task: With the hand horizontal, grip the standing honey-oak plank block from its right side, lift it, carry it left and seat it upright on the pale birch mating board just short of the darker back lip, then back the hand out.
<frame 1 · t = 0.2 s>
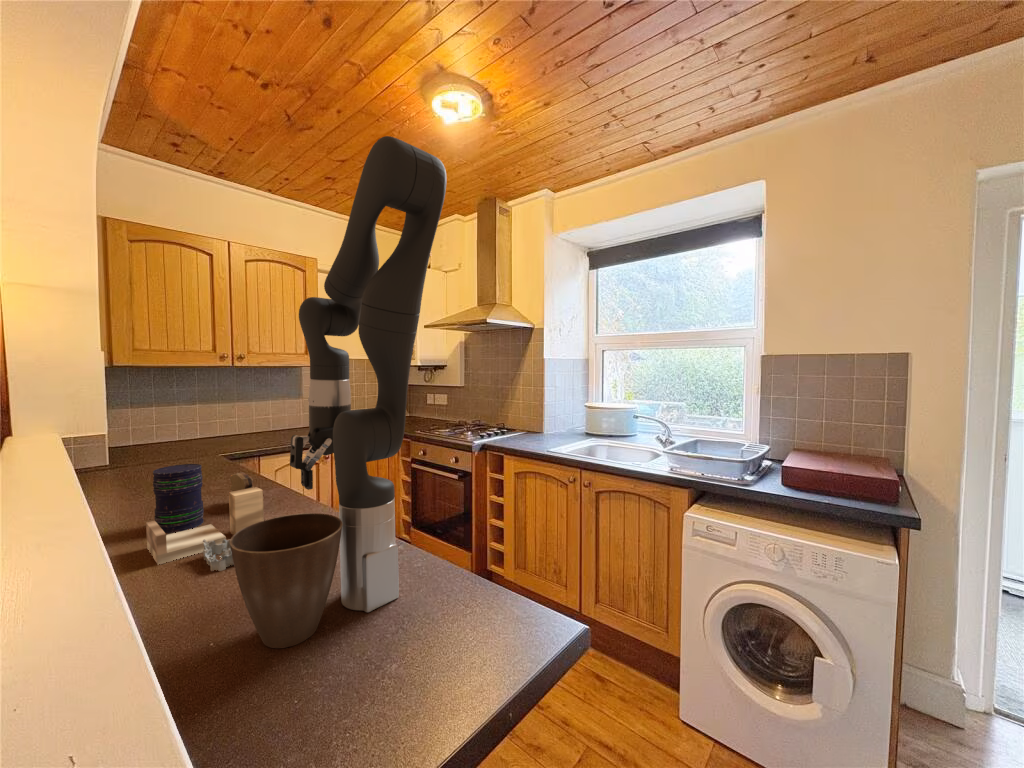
hand: (330, 483, 82), 18 cm above the counter, tool pointing down, fingers open, 8 cm apart
storage jar: (180, 526, 106), on the counter
birch mating board: (187, 547, 94), on the counter
oak plank block: (247, 531, 103), on the counter
egg carton: (227, 561, 88), on the counter
plant pot: (292, 633, 64), on the counter
wooden carving: (245, 507, 121), on the counter
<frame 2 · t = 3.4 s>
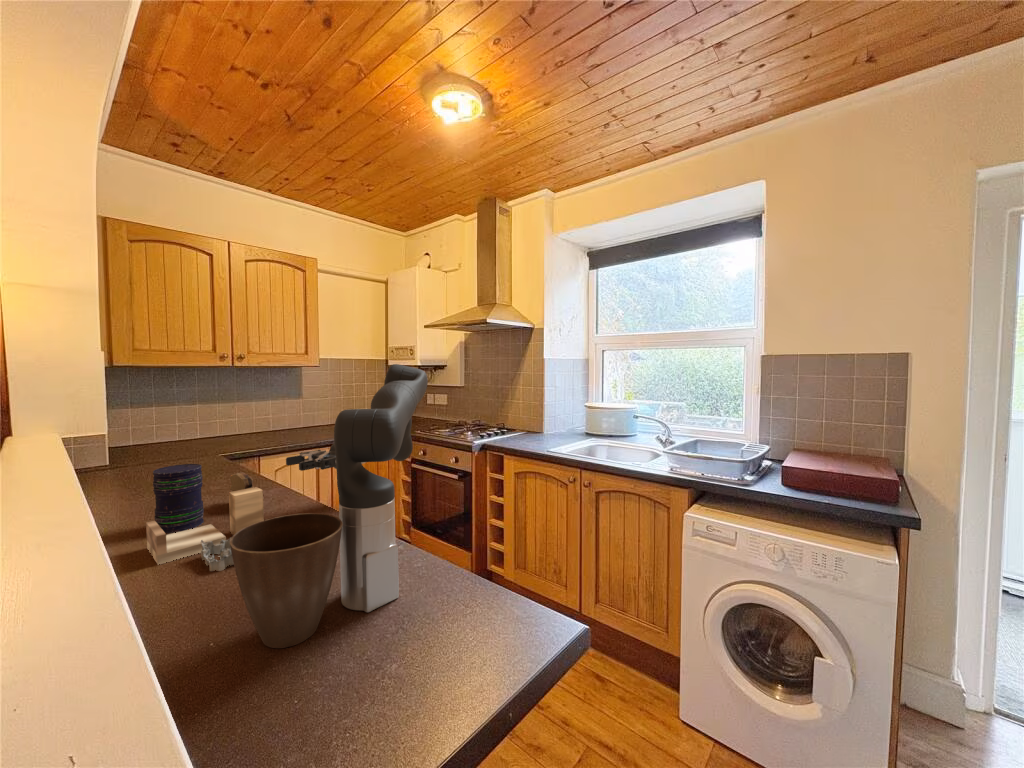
hand: (292, 464, 111), 15 cm above the counter, tool horizontal, fingers open, 8 cm apart
nothing on the counter moved.
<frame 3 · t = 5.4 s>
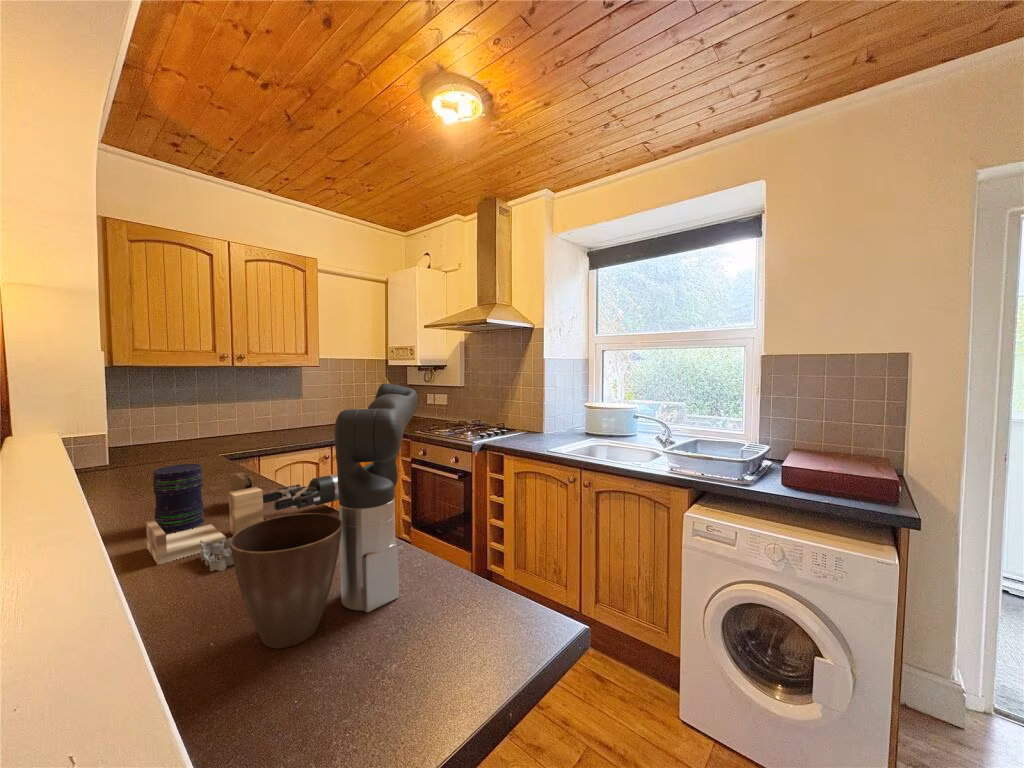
hand: (268, 502, 106), 6 cm above the counter, tool horizontal, fingers open, 8 cm apart
nothing on the counter moved.
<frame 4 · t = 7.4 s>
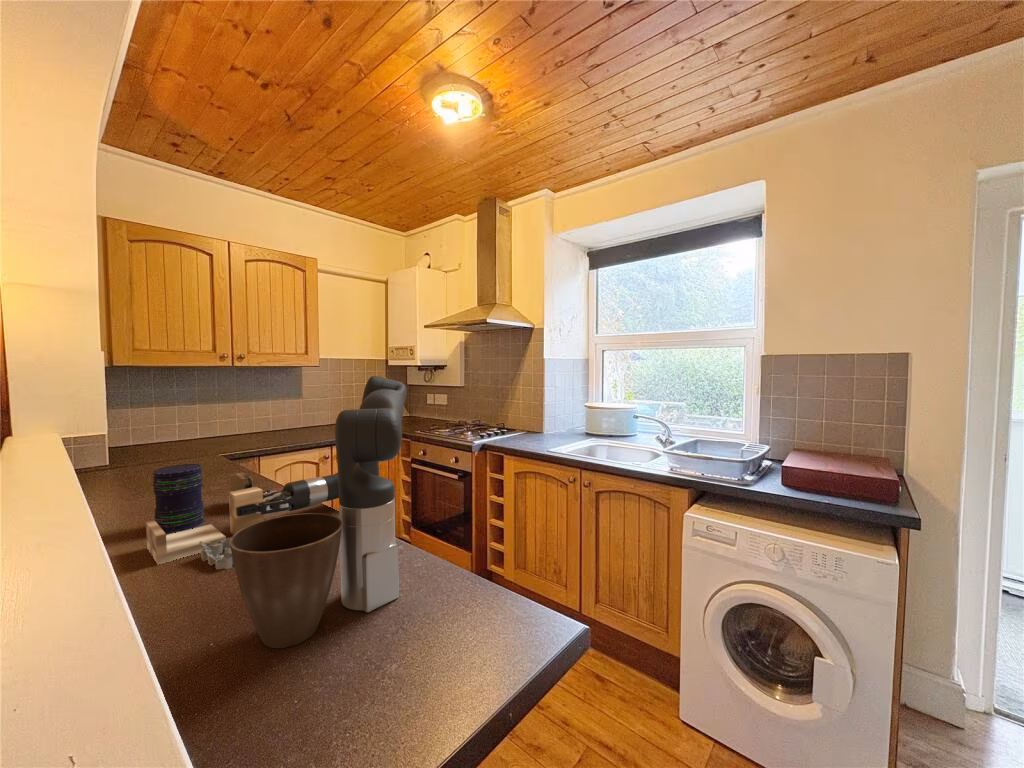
hand: (233, 509, 101), 6 cm above the counter, tool horizontal, fingers closed on oak plank block, 4 cm apart
oak plank block: (247, 530, 103), on the counter, touching gripper
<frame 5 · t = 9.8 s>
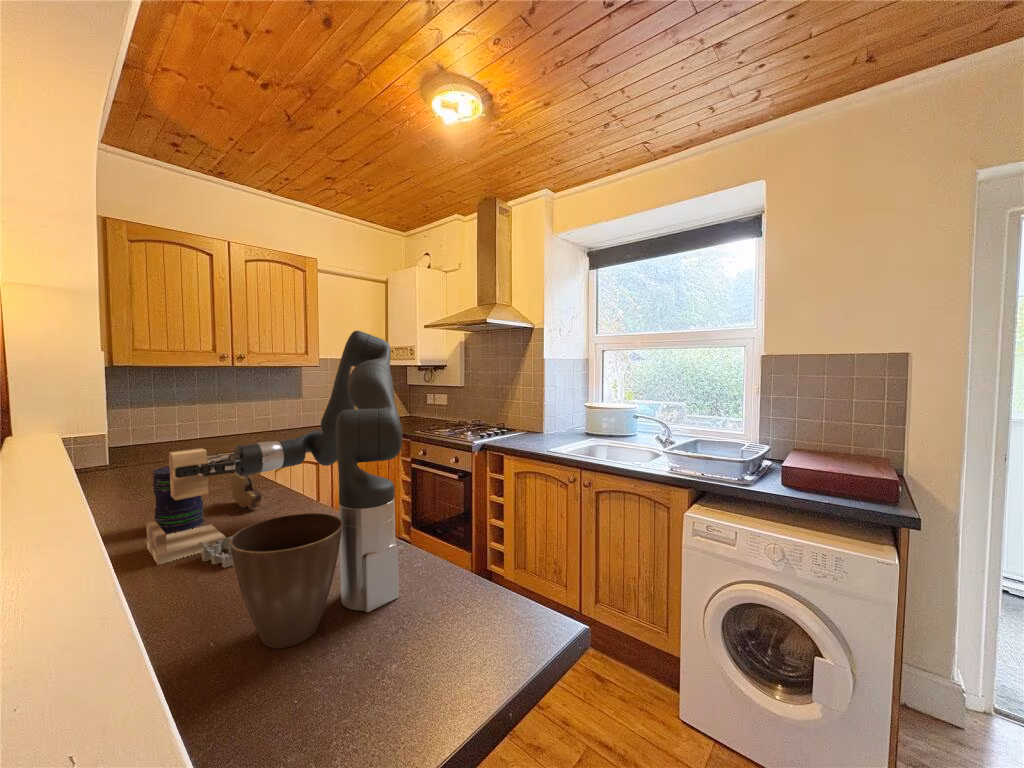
hand: (173, 471, 92), 18 cm above the counter, tool horizontal, fingers closed on oak plank block, 4 cm apart
oak plank block: (190, 495, 94), point 12 cm above the counter, touching gripper
when the fingers open (9 cm above the counter, at t = 12.5 s): oak plank block stays where it is, resting on birch mating board.
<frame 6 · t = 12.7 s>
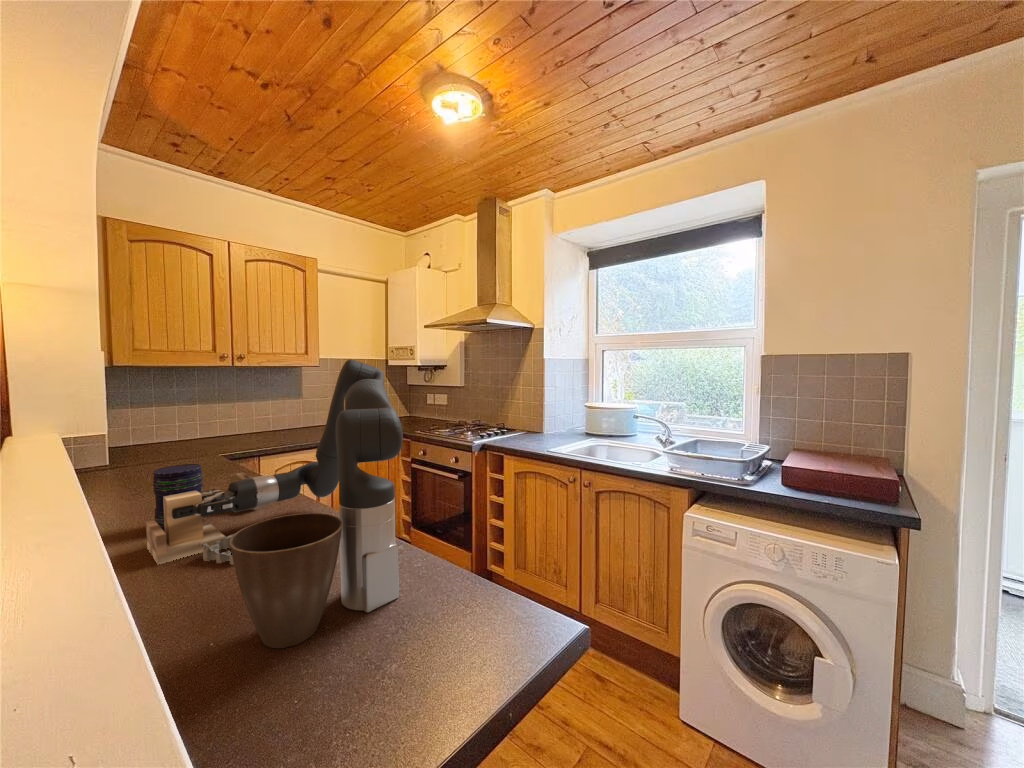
hand: (169, 510, 91), 9 cm above the counter, tool horizontal, fingers open, 6 cm apart
oak plank block: (184, 539, 93), point 2 cm above the counter, touching birch mating board
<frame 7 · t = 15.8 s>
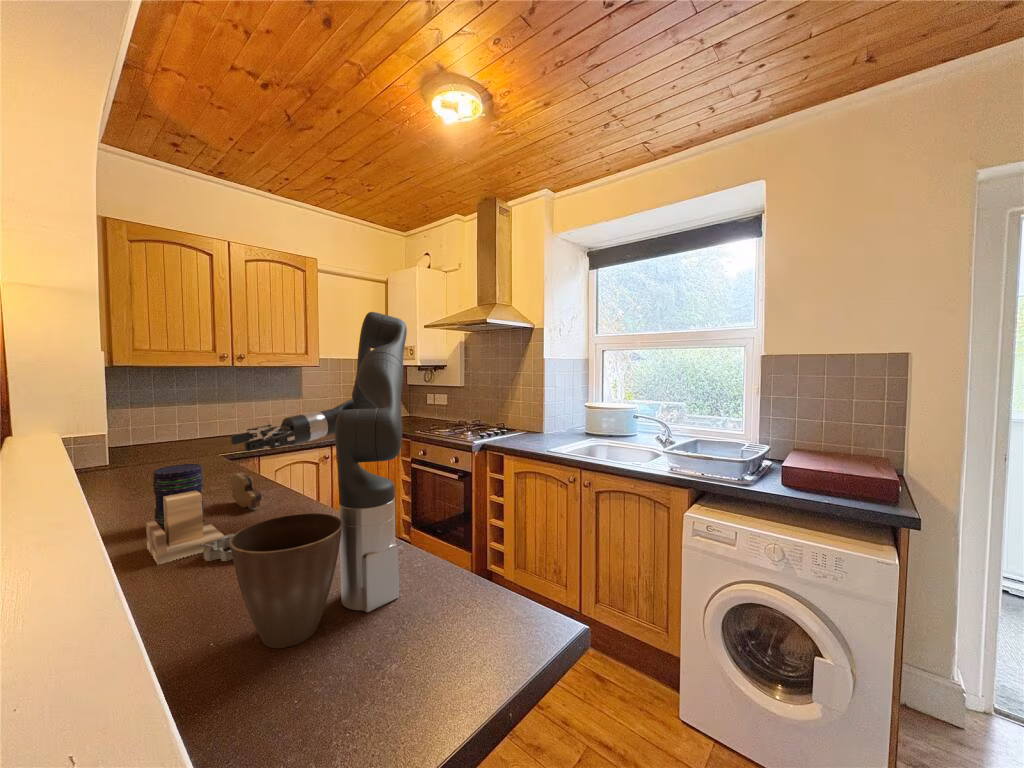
hand: (238, 443, 99), 22 cm above the counter, tool horizontal, fingers open, 8 cm apart
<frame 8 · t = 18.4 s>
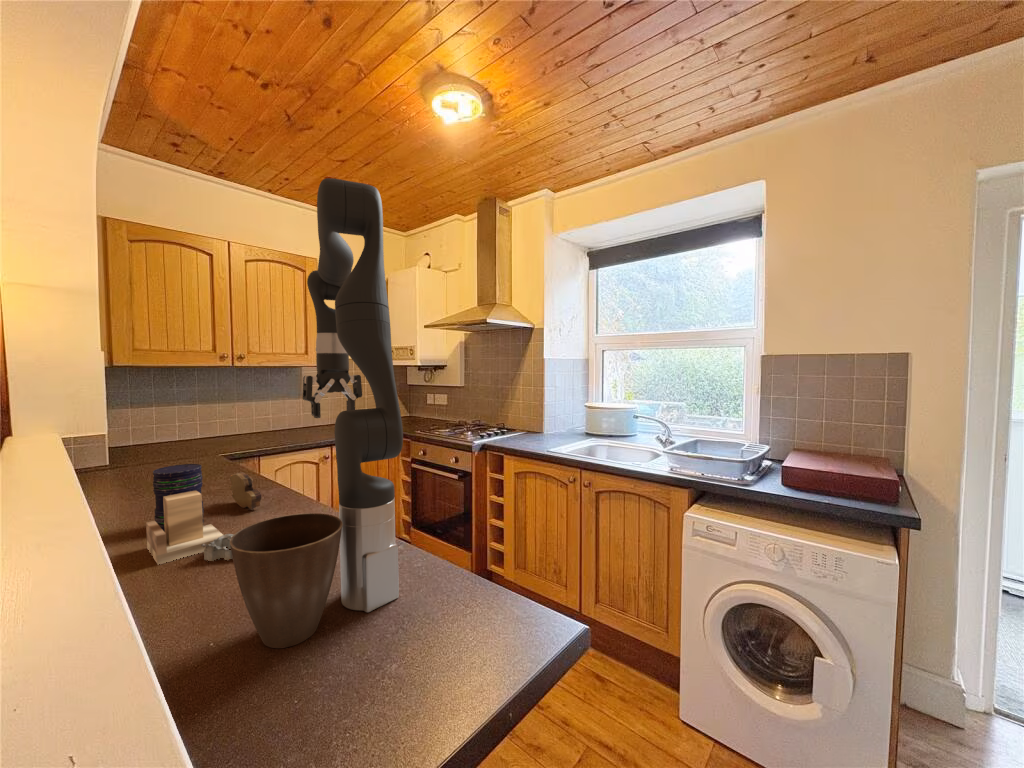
hand: (334, 416, 105), 28 cm above the counter, tool pointing down, fingers open, 8 cm apart
at the end: oak plank block inside the target area (0.3 cm from its centre), point 2.0 cm above the counter; oak plank block tilted 0°; the gripper is holding nothing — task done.
